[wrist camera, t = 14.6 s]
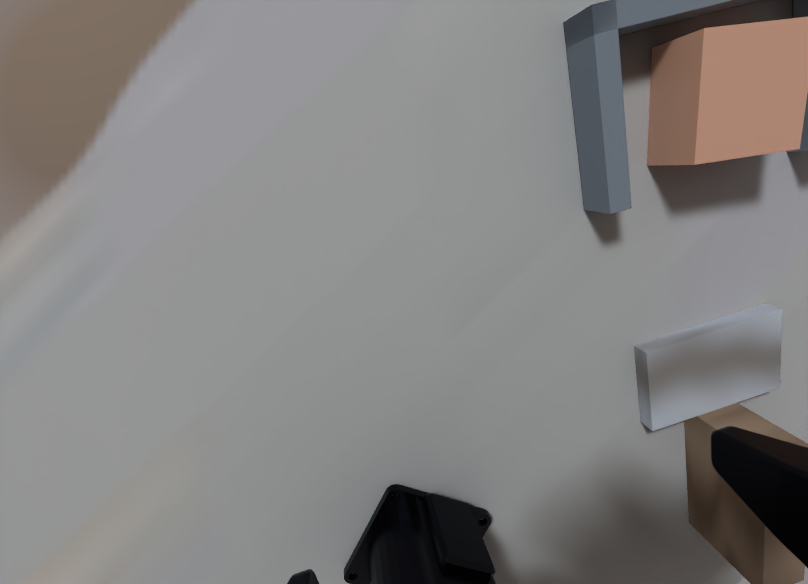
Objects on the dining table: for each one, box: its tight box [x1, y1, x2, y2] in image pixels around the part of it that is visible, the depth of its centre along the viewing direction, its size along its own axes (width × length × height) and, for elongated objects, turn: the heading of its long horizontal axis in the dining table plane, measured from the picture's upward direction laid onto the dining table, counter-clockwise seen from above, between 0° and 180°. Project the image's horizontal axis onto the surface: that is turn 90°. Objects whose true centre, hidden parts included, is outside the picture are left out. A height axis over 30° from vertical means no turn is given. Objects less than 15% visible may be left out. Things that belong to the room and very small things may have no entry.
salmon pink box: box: [647, 17, 808, 166], centre depth 18 cm, size 5×5×3 cm
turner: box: [634, 304, 808, 584], centre depth 23 cm, size 14×8×5 cm, turn 14°
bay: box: [563, 0, 808, 214], centre depth 18 cm, size 8×12×2 cm, turn 104°
